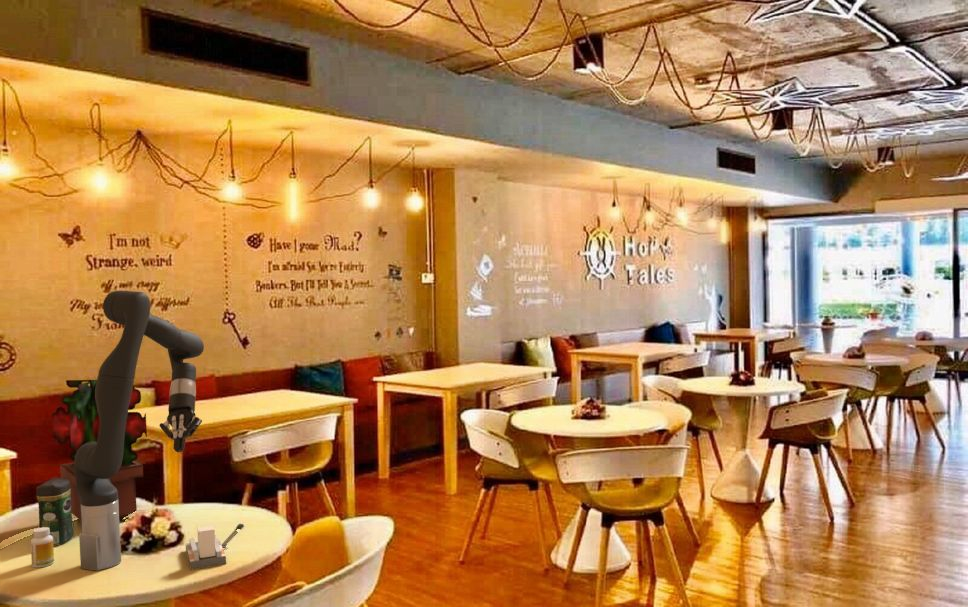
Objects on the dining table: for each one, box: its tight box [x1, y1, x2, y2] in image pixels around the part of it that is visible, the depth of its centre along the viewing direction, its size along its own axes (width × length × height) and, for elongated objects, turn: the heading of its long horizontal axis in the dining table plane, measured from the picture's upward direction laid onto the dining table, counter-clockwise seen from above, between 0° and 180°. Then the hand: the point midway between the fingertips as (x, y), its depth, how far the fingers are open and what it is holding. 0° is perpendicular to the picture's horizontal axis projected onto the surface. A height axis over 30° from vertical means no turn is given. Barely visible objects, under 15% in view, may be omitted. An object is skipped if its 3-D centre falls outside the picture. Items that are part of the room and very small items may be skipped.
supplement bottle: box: [30, 527, 55, 569], centre depth 221 cm, size 5×5×10 cm
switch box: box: [185, 534, 227, 571], centre depth 224 cm, size 16×9×4 cm, turn 24°
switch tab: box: [196, 524, 216, 558], centre depth 219 cm, size 4×4×7 cm
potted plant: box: [51, 379, 148, 523], centre depth 260 cm, size 22×22×45 cm
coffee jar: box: [36, 477, 75, 547], centre depth 239 cm, size 10×8×19 cm
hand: (178, 451), depth 239 cm, fingers closed
